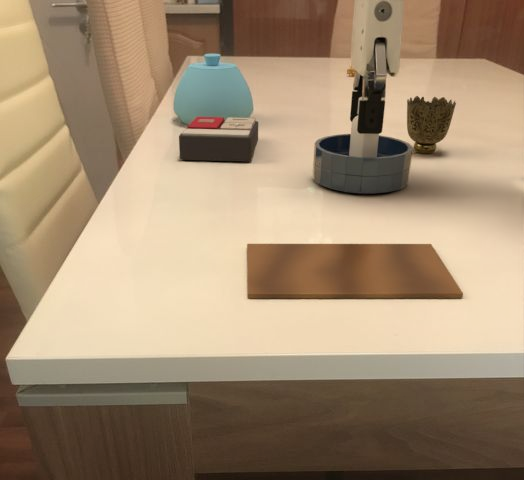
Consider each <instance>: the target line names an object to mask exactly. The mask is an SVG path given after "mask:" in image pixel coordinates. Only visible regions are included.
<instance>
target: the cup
mask: <svg viewBox="0 0 524 480" xmlns="http://www.w3.org/2000/svg"><path fill="white" fill-rule="evenodd" d="M406 105H407V107H406V129H407V135H408V137H409V138H410V139H411V140H412V141H413V142H414V143H413V146H412V147H413V150H414V151H415V153H418V154H422V155H429V154H434V153H435V152H436V150H437V148H438V147H437V144H438V143H440V142H441V141H444V139H445V138H446V136H447V134H448V133H449V130H450V126H451V123H452V119H453V115H454V113H455V107H456V105H457V102H456V100H454V101H453V99H450V100H448V99H446V97H444V96H443V97H440V98H437V97H436V96H434V97H433V98H432V99H431V101H429V100H428V101H426V100H425V97H424V96H421V98H420V97H419V95H416V96H414V98H412V97H409V98H407V101H406Z"/></svg>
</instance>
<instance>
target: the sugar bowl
mask: <svg viewBox="0 0 524 480" xmlns="http://www.w3.org/2000/svg"><path fill="white" fill-rule="evenodd" d="M203 57H204V61H203V62H193V63H190V64H189V65H188V66H187V67H186V68H185V70H184V72H183V74H182V76H181V77H180V79H179V82H178V84H177V87H176V89H175V91H174V92H175V93H174V98H173V112H174V114H175V115H176V117H177V118H178V119H179V121H181V123H182V124H184V125H187V126H188V125H189V124H190V123H191V122H192V121H193V120H194V119H195V118H196V117H224V120H226V119H227V118H251V116H252V114H253V113H254V99H253V95H252V92H251V89H250V87H249V84H248V82H247V80H246V79H245V77H244V75H243V73H242V72H241V70H240V69H239V67H238V66H237V64H235V63H231V62H221V60H220V59H221V54H220V53H205V54H203Z"/></svg>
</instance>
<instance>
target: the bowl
mask: <svg viewBox="0 0 524 480" xmlns="http://www.w3.org/2000/svg"><path fill="white" fill-rule="evenodd" d="M350 138H351V133H341V134H340V133H339V134H333V135H328V136H327V135H326V136H324V137H321V138H318V139H317V140H316V141H315V142H314V143H313V146H314V147H313V164H312V178H313V181H314V182H316V183H317V184H318V185H319V186H322V187H325V188H327V189H331V190H335V191H338V192H343V193H350V194H359V195H360V194H361V195H371V194H372V195H373V194H384V193H391V192H394V191H399V190H402V189H403V188H404V187H406V186H408V183H409V181H410V180H409V179H410V173H411V166H412V165H411V164H412V158H413V150H414V147H413V146H412V145H411V144H410V143H409V142H407V141H405V140H402V139H399V138H395V137H392V136H386V135H381V134H379V139H378V149H377V157H355V156H349V150H350Z"/></svg>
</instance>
